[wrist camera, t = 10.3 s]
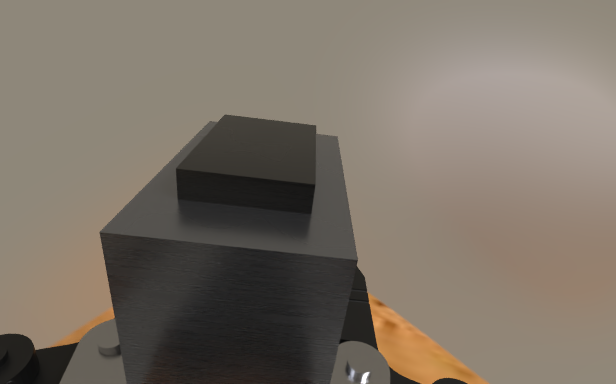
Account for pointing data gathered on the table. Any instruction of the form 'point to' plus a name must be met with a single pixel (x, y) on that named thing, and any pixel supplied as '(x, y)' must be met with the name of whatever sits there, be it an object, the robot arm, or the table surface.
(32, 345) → the robot arm
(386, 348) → the table surface
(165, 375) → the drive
